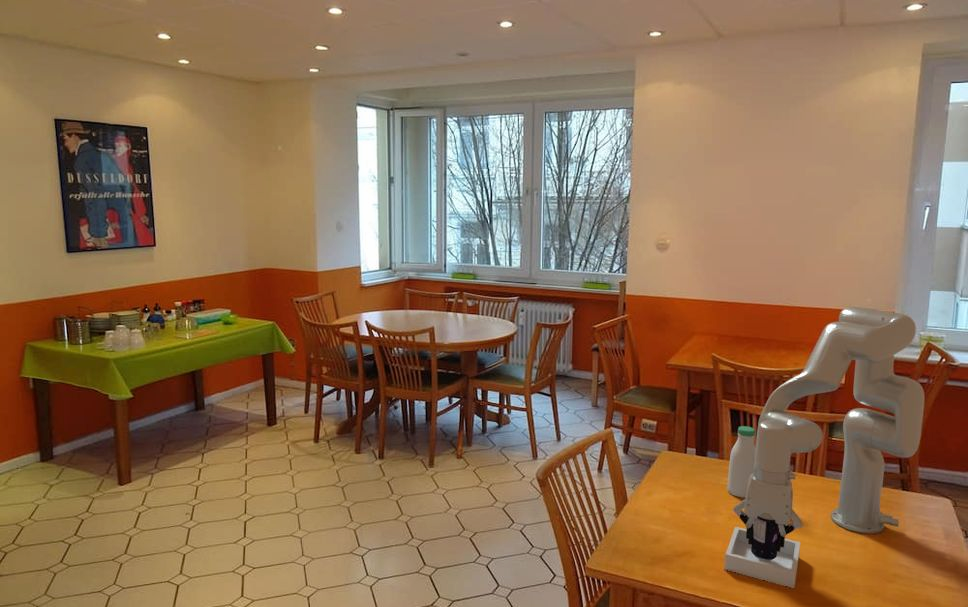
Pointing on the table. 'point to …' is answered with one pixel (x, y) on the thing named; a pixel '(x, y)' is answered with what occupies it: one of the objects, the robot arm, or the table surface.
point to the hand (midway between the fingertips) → (764, 544)
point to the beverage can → (765, 538)
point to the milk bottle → (741, 462)
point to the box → (771, 571)
